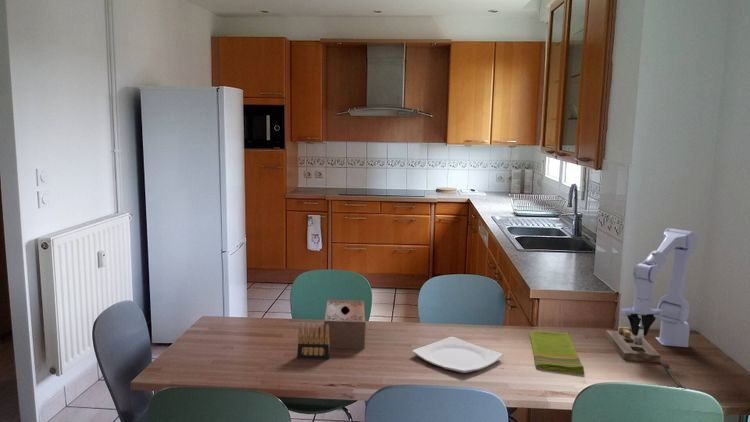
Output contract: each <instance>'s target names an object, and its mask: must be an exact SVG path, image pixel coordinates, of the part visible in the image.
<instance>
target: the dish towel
mask: <svg viewBox="0 0 750 422" xmlns="http://www.w3.org/2000/svg"><path fill="white" fill-rule="evenodd" d="M529 338H530V343H531V347H532V353H533V358H534V362H535V367H536V369H537V370H544V371H552V372H559V373H560V372H561V373H569V374H577V375H585V368H584V365H583V364H582V362H581V360H580V357H579V355H578V353H577V351H576V347H575V346H574V343H573V342H572V339H571V337H570V334H569V331H566V332H550V331H549V332H548V331H536V330H535V331H530V332H529Z"/></svg>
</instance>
